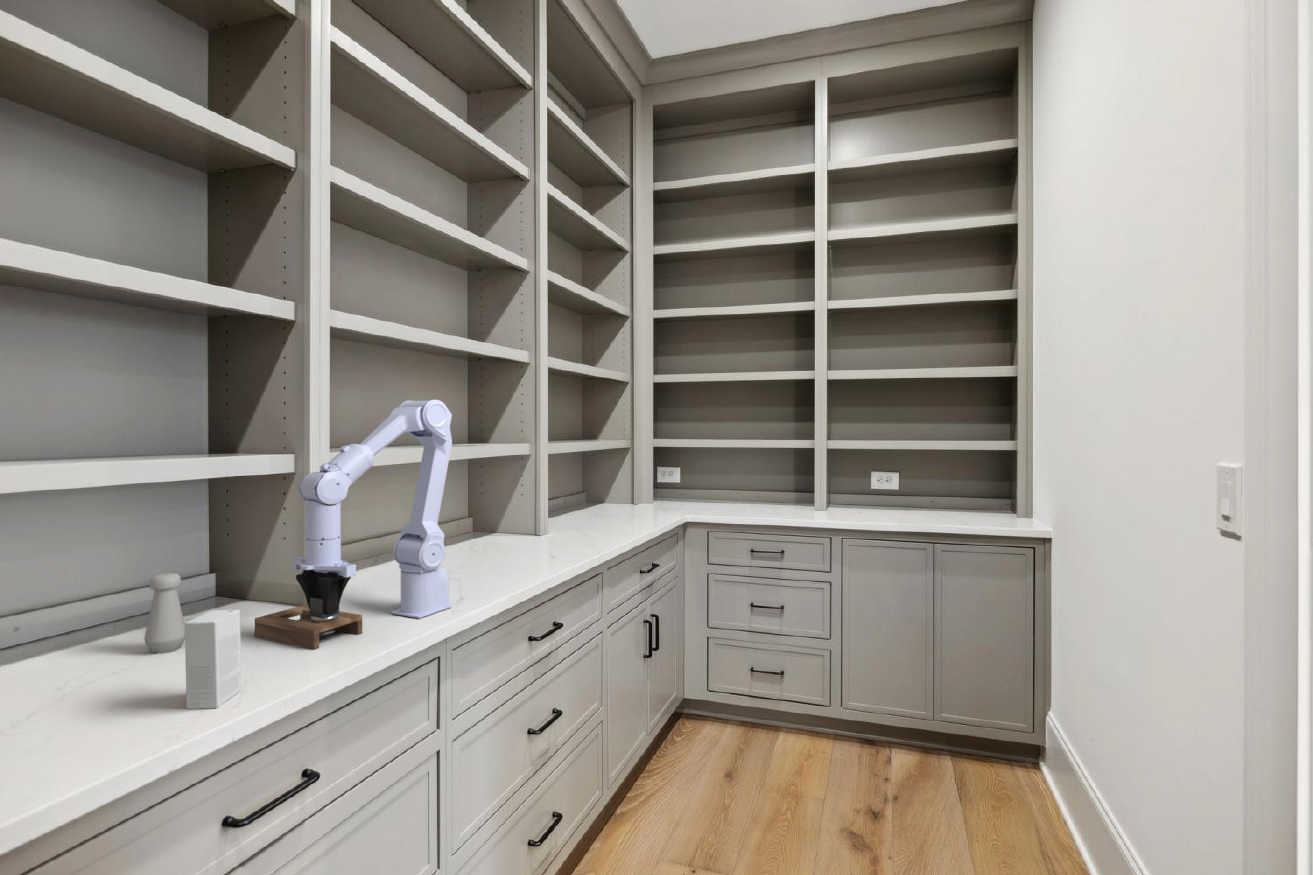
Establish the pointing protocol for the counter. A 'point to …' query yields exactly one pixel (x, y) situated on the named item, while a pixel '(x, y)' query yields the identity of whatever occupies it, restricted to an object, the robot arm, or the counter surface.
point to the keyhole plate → (303, 626)
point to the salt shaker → (165, 615)
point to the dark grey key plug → (321, 613)
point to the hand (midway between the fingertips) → (323, 612)
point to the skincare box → (212, 658)
